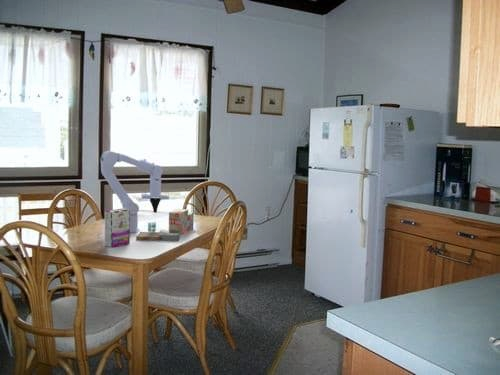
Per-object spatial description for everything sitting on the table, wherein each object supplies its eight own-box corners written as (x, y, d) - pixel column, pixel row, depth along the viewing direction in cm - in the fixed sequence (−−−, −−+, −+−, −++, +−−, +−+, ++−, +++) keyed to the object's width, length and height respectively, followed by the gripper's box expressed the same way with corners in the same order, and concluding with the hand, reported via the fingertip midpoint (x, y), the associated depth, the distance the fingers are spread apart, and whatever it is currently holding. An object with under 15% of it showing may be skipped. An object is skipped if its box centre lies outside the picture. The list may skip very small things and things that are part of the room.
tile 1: (158, 234, 233) (159, 230, 233) (160, 233, 238) (161, 229, 238) (167, 237, 234) (168, 233, 233) (169, 235, 238) (170, 231, 238)
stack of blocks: (182, 228, 265) (183, 206, 264) (193, 229, 264) (194, 207, 262) (168, 235, 244) (168, 211, 243) (179, 236, 243) (180, 212, 242)
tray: (161, 240, 231) (161, 234, 231) (164, 236, 241) (164, 230, 241) (178, 241, 231) (178, 235, 231) (180, 236, 241) (180, 231, 241)
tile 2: (168, 239, 234) (168, 235, 233) (169, 237, 238) (169, 233, 238) (177, 239, 234) (177, 235, 234) (178, 237, 238) (178, 233, 238)
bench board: (136, 240, 230) (136, 236, 230) (140, 235, 241) (140, 231, 240) (161, 241, 230) (161, 237, 230) (163, 236, 241) (163, 232, 241)
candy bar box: (122, 242, 225) (122, 207, 224) (130, 243, 223) (130, 209, 221) (103, 246, 216) (104, 210, 214) (111, 247, 213) (111, 211, 212)
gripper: (140, 187, 251) (140, 213, 252) (168, 188, 252) (167, 213, 253) (142, 186, 258) (142, 210, 259) (169, 186, 259) (169, 211, 260)
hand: (155, 212), depth 257 cm, fingers closed
